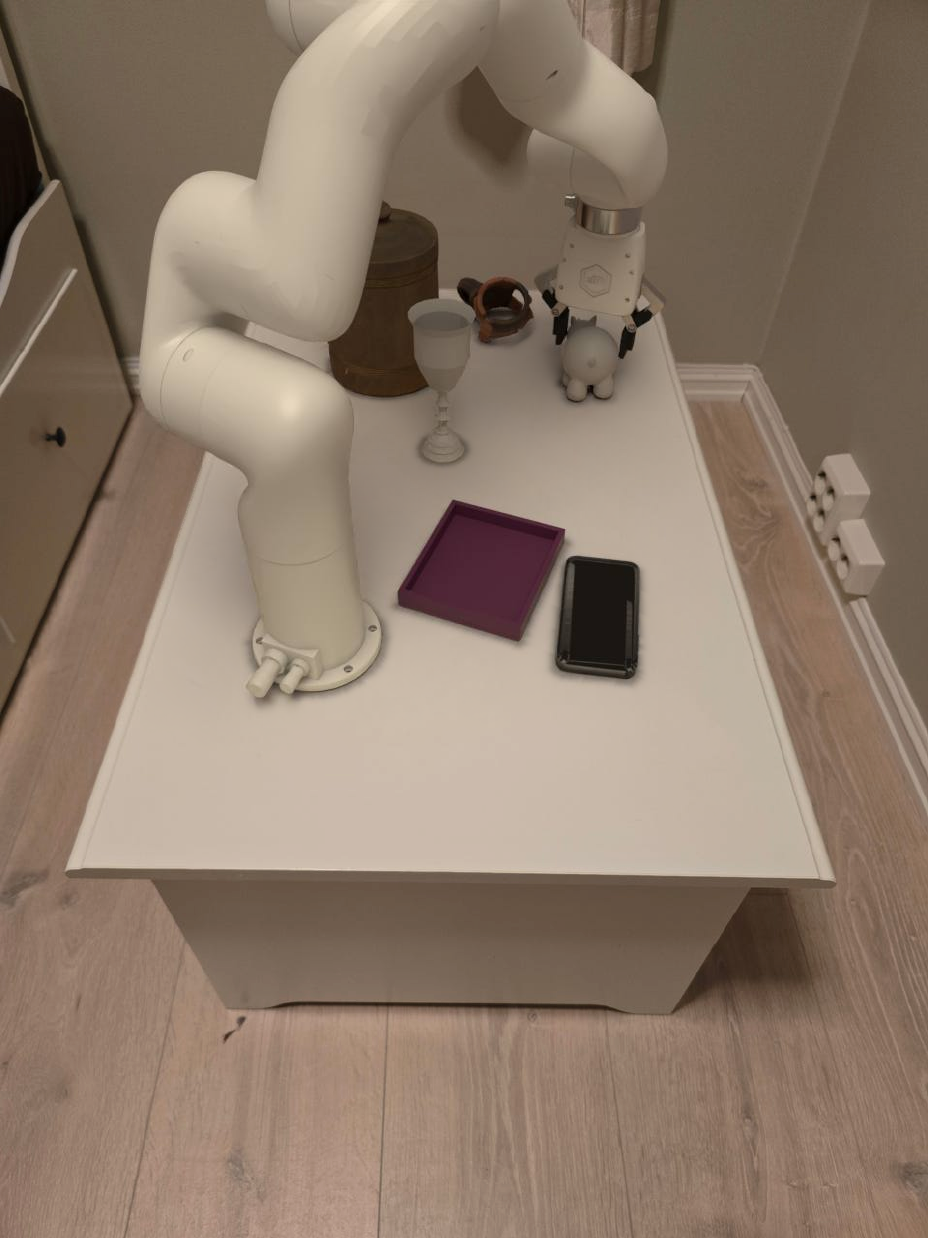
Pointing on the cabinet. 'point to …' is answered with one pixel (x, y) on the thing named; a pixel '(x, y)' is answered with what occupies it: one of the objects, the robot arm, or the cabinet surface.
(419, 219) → the wooden container
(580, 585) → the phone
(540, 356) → the cabinet surface
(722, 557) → the cabinet surface
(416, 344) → the chalice
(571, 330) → the chubby cartoon animal
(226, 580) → the cabinet surface
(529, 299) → the pottery mug
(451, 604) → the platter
